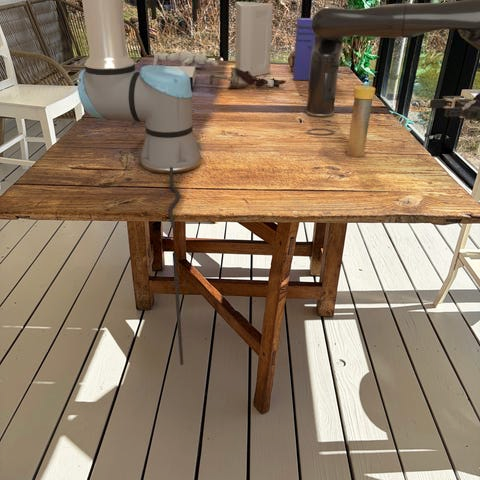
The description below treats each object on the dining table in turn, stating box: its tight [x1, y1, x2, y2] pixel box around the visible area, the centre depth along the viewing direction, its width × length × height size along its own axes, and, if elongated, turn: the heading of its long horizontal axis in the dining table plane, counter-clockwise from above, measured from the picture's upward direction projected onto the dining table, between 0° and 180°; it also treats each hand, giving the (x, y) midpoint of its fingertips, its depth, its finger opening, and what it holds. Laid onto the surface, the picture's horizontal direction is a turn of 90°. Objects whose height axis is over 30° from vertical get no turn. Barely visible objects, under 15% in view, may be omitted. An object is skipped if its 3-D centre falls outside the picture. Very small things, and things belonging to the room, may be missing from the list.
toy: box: [153, 50, 219, 69], centre depth 223 cm, size 24×25×7 cm
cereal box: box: [292, 17, 315, 81], centre depth 201 cm, size 17×5×24 cm, turn 86°
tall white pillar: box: [234, 1, 274, 77], centre depth 210 cm, size 19×15×28 cm
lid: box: [353, 85, 376, 100], centre depth 122 cm, size 5×5×2 cm
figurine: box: [209, 66, 287, 89], centre depth 190 cm, size 24×8×30 cm
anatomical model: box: [287, 49, 295, 72], centre depth 221 cm, size 13×9×15 cm
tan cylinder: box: [346, 96, 374, 158], centre depth 126 cm, size 5×5×17 cm
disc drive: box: [168, 65, 197, 91], centre depth 195 cm, size 18×22×5 cm
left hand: (174, 20), depth 152 cm, fingers open, 13 cm apart
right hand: (437, 108), depth 127 cm, fingers open, 8 cm apart
